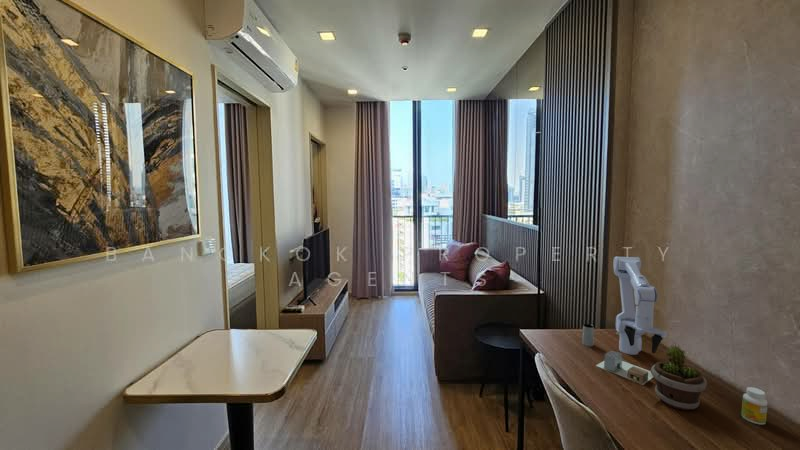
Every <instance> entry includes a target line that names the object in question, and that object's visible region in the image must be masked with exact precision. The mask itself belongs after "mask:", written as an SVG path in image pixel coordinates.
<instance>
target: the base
mask: <svg viewBox="0 0 800 450" xmlns="http://www.w3.org/2000/svg"><path fill="white" fill-rule="evenodd" d="M633 366H634V367H637V368H640V369H642V370H645V371H648V379H647V380H646V381H645V382H643V383H640V382H639V379H638V381H634V380H633V377H632V378H628V377H627V372H628V369H630V368H631V367H633ZM595 367H598V368H600V369H602V370H606V371H608V372H610V373H612V374H615V375H618V376H619V377H620V376H621V377H623V378H625V379H628V380H629V381H632V382H635V383H637V384H639V385H642V386H644V385H645V384H646V383H648V382H649V381H650V380H652V379H653V378H654V377H653V376H652V374H651V370H648V369H645V368H642V367H640V366H637V365H635V364H631V363H629V362H627V361H624V360H622V368H621V369H618V368H617V372H615V373H614V372H612V371H609V370H607V369H604V360H603V361H601V362H599V363H597V364H596V365H595Z"/></svg>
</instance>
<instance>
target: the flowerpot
mask: <svg viewBox="0 0 800 450" xmlns="http://www.w3.org/2000/svg"><path fill="white" fill-rule="evenodd" d="M680 347H681V346H680V344H677V343H676V342H674V344H671V345H670V346H669V347H668V348H667V352H666V353H665V356H666V357H665V361H657V362H656V363H655V364H654V365H652V366H651V369H650V371H651V374H652V376H653V378H654V380H655V384H656V385H655V387H654V390H655V391H654V393H655V394H656V396H657V397H658V398H659V401H661V402H662V403H664V404H665V405H667V406H669V407H670V408H673V409H677V410H681V411H689V410H690V411H694V410H695V409H697V408H698V407H699V405H700V404H701V403H700V402H701V398H700V396H701V394H702V392H703V391H705V390H706V389H707V385H708V381H707V379H706V378H705V377H704V375H702V372H700V371H699V370H697V369H696V367H693V365H691V364H687V363H688V362H687V361H686V360H687V358H688V356H687V354H686V351H685V350H684V349H682V348H680ZM685 355H686V356H685Z"/></svg>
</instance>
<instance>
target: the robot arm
mask: <svg viewBox="0 0 800 450" xmlns="http://www.w3.org/2000/svg"><path fill="white" fill-rule="evenodd" d="M612 262H613V263H612V264H613V265H612V266H613V267H612V268H613V273H614V275H615V276H617V277H618V279H619V280H618V281H619V290H620V300H621V307H622V308H621V311H622V312H620V313H618V314H617V315H616V316H615V329H616V332H617V333H619V340H618V341H619V343H618V350H619V351H620V352H621V353H622V354H623V353H624V354H628V355H630V356H631V355H632V356H633V355H634V356H635V355H638V354H639V352H641V351H642V344H643V339H642V336H643V335H644V334H645V333H646V334H650V335H652V336H651V345H652V346H651V354H656V353H657V350H658V347H659V345H660V344H661V342H662V340H663V339H666V338H667V334H668V333H667V332H666V331H663V330H660V329H658V328H655V327H654V309H655V303H656V302H657V300H658V291H657V289H656V287H655V286H653V285H650V283H649V281H648V279H647V277H645V275H643V274H641V269H642V260H641V258H640V257H639V256H615V257H613V261H612Z"/></svg>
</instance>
